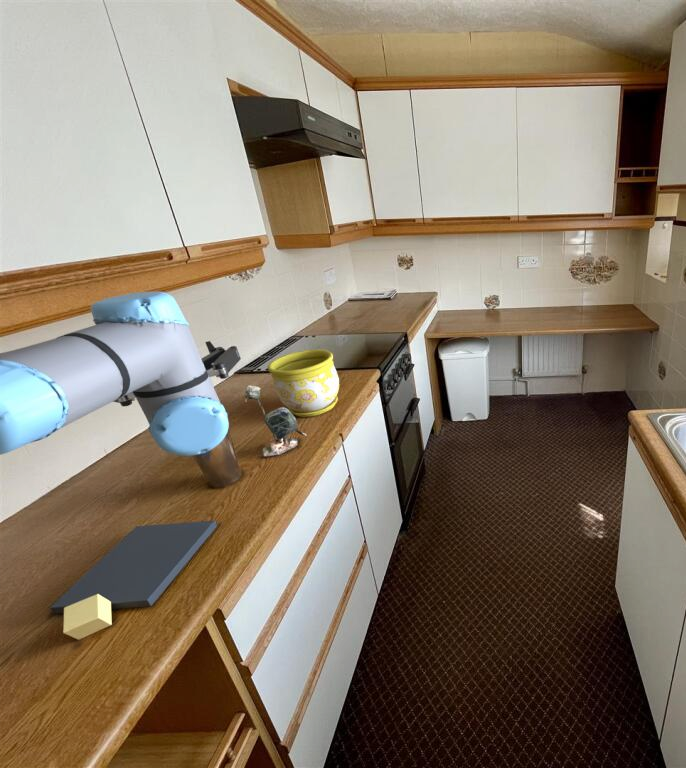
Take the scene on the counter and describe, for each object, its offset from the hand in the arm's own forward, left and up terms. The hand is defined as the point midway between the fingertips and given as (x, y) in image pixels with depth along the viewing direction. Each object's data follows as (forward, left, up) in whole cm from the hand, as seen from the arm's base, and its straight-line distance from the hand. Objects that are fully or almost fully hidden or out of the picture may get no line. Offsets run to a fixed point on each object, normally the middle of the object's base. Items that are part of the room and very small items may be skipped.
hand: (166, 358), depth 74 cm
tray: (-8, -15, -35) cm, 39 cm away
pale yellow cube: (-7, -26, -34) cm, 43 cm away
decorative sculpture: (+1, +22, -35) cm, 42 cm away
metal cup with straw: (-8, +10, -35) cm, 37 cm away
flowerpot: (0, +45, -35) cm, 57 cm away
